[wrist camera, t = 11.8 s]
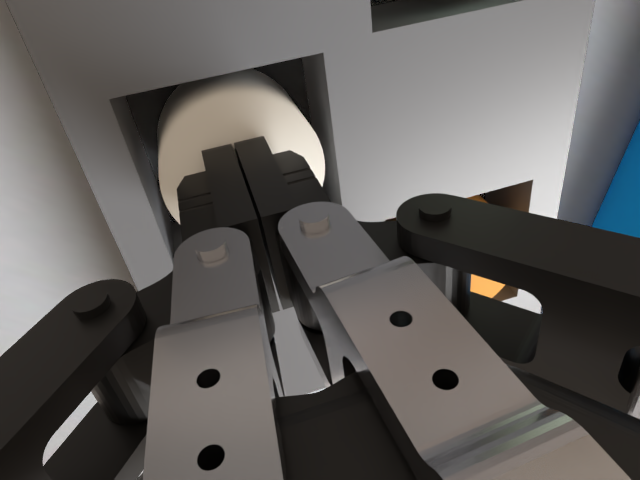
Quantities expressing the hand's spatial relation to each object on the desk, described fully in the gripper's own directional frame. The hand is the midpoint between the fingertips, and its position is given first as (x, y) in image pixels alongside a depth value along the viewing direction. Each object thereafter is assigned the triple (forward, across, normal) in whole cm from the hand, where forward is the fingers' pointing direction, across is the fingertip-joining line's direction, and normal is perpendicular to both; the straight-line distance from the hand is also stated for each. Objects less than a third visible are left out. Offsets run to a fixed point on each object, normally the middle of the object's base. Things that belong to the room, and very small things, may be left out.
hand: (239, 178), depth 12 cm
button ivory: (+2, 0, 0) cm, 3 cm away
